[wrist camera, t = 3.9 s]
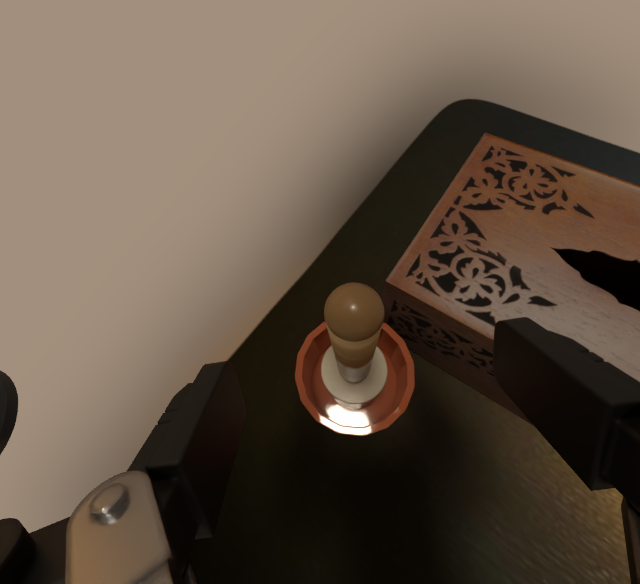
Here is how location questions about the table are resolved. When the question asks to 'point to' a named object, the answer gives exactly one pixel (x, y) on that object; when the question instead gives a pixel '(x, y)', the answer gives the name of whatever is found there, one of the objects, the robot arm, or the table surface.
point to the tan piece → (354, 346)
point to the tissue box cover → (520, 263)
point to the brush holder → (375, 414)
